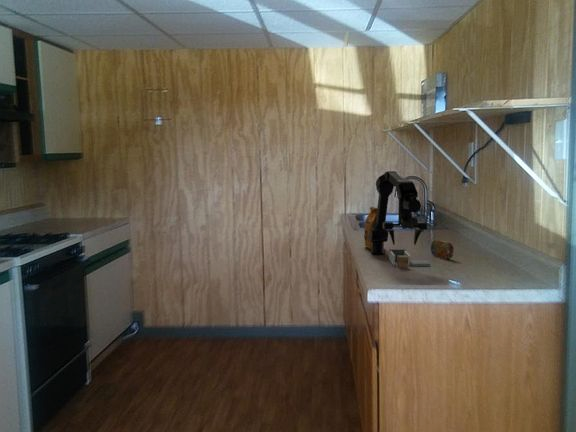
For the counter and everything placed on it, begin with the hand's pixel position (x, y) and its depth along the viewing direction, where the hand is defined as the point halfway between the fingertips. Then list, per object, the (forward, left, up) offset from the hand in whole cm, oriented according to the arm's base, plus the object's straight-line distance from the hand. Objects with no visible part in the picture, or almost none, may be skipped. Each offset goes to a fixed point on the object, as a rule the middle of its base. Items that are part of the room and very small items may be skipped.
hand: (404, 244), depth 247 cm
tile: (-8, +8, -10) cm, 15 cm away
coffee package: (-48, -8, -11) cm, 49 cm away
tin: (-24, +22, -11) cm, 34 cm away
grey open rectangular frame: (-12, 0, -10) cm, 16 cm away
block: (-2, 0, -10) cm, 11 cm away
